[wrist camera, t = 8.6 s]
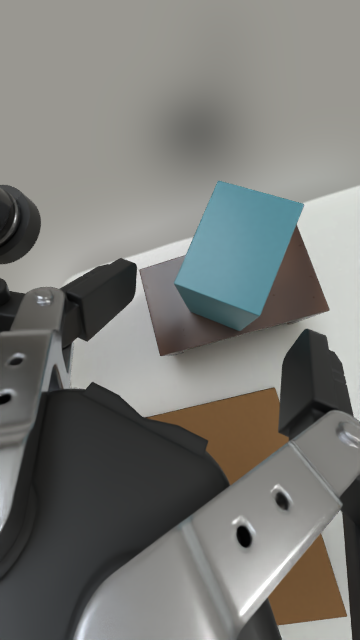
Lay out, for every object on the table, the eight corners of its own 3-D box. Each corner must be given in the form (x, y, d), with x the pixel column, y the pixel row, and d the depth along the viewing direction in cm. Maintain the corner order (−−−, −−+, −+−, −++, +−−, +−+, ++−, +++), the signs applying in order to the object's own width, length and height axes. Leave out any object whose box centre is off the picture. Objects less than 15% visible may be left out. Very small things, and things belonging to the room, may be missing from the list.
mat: (97, 428, 26) (95, 430, 25) (274, 387, 24) (275, 387, 23) (135, 639, 22) (133, 644, 22) (344, 611, 20) (347, 616, 20)
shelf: (173, 355, 26) (160, 356, 19) (157, 289, 27) (138, 269, 20) (298, 321, 24) (330, 310, 18) (274, 254, 26) (295, 220, 19)
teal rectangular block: (189, 311, 19) (173, 283, 11) (216, 248, 20) (218, 179, 12) (240, 331, 18) (260, 316, 11) (266, 265, 19) (304, 203, 11)
